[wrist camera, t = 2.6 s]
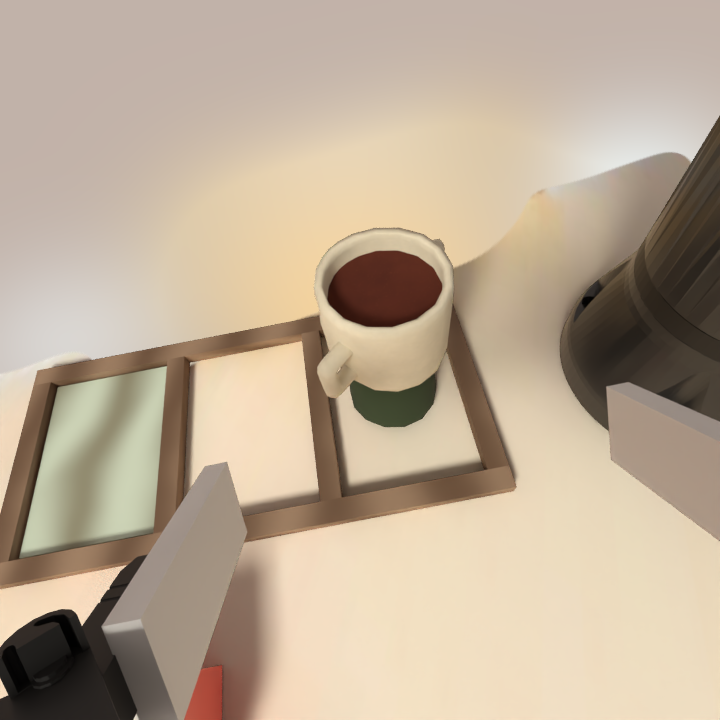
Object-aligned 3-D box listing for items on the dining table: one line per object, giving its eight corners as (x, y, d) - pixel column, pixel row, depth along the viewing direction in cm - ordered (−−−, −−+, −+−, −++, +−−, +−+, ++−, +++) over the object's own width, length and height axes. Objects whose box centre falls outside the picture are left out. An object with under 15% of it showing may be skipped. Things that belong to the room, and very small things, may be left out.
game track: (447, 298, 37) (448, 291, 36) (513, 491, 28) (516, 486, 28) (46, 376, 37) (37, 370, 36) (-7, 590, 29) (-20, 589, 28)
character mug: (396, 321, 36) (389, 188, 25) (473, 364, 33) (502, 236, 22) (310, 421, 32) (256, 317, 21) (387, 478, 30) (372, 393, 18)
